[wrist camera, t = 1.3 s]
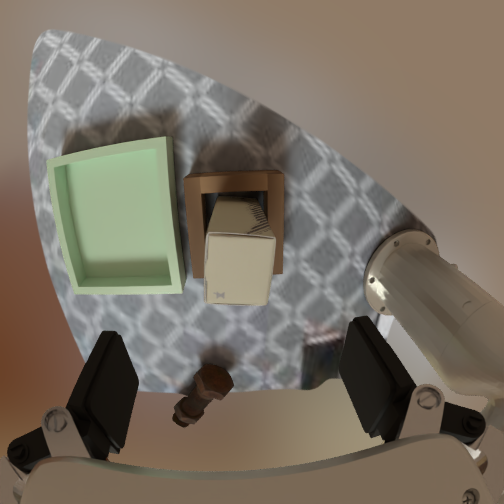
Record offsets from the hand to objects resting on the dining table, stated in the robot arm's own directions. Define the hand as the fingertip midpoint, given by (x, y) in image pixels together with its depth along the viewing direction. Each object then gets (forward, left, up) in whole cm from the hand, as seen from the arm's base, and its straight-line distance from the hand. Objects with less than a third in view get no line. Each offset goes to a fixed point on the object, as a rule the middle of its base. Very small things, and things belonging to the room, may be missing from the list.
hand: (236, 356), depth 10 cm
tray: (+13, -1, -20) cm, 24 cm away
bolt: (+7, +28, -21) cm, 35 cm away
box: (0, 0, -20) cm, 20 cm away
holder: (0, 0, -20) cm, 20 cm away
